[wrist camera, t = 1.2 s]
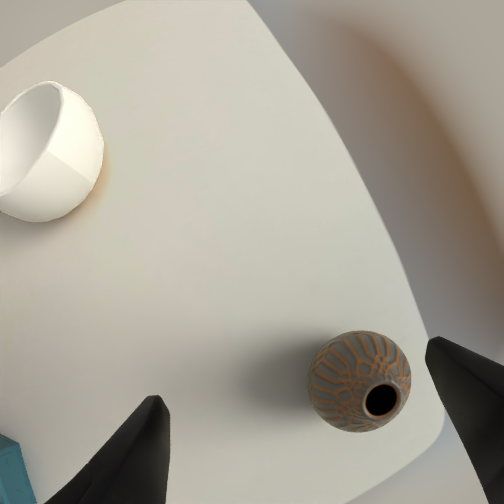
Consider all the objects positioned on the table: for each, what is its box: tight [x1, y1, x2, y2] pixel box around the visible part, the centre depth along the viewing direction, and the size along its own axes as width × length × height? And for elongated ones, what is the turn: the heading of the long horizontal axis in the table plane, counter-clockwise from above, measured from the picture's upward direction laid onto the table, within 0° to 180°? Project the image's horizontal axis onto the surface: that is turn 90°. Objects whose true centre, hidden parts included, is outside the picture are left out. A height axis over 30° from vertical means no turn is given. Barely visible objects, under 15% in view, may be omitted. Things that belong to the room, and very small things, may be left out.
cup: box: [0, 81, 104, 222], centre depth 23 cm, size 12×12×10 cm
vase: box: [308, 331, 411, 432], centre depth 18 cm, size 7×7×9 cm
